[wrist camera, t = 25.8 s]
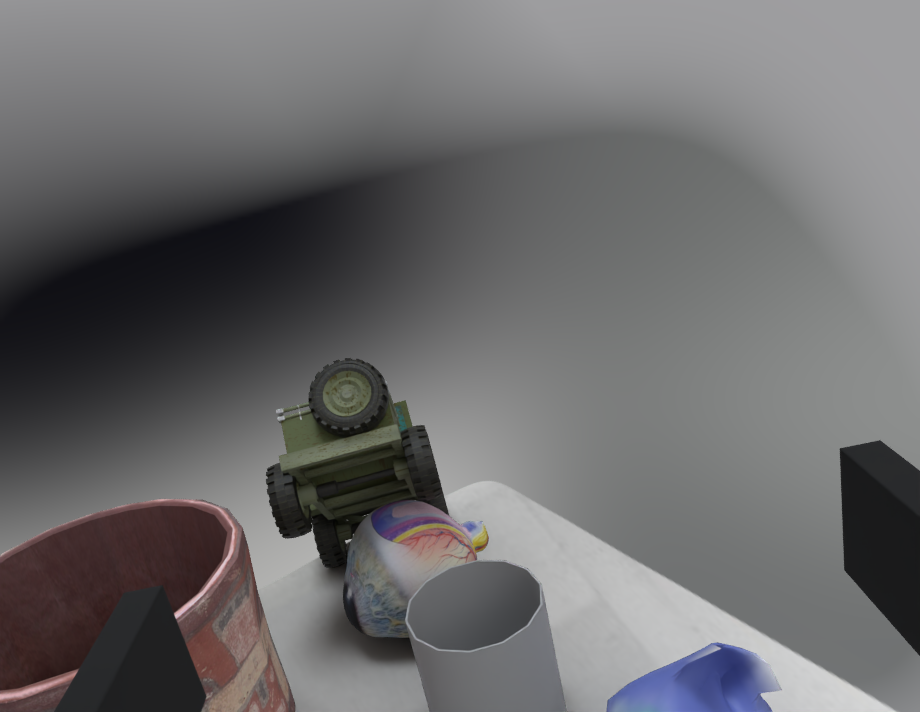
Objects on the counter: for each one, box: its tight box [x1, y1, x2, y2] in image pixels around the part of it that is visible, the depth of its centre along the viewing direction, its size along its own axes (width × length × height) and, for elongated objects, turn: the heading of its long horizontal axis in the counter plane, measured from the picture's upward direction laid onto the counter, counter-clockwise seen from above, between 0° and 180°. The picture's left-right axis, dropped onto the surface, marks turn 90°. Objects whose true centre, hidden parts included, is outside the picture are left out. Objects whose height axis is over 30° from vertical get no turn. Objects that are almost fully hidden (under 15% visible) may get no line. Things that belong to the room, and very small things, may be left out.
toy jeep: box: [266, 358, 449, 568], centre depth 64 cm, size 12×25×11 cm
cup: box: [405, 560, 567, 712], centre depth 48 cm, size 8×8×10 cm
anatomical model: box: [343, 500, 489, 638], centre depth 60 cm, size 10×12×10 cm
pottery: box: [0, 499, 295, 712], centre depth 45 cm, size 18×18×18 cm
